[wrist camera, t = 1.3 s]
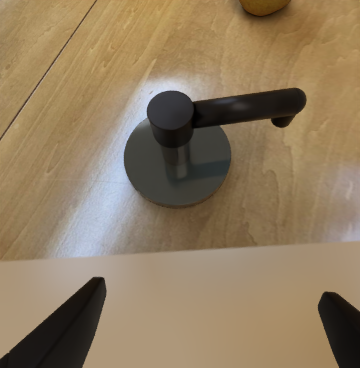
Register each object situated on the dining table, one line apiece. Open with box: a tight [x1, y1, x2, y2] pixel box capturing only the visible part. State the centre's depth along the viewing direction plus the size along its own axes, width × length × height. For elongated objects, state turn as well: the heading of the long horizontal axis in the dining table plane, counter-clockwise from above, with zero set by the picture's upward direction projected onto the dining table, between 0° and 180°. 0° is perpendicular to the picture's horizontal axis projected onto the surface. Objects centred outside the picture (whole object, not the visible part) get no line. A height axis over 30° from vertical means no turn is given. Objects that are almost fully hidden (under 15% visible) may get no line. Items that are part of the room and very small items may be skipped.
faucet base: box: [124, 118, 231, 208], centre depth 23 cm, size 12×12×6 cm
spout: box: [147, 88, 307, 148], centre depth 19 cm, size 13×4×4 cm, turn 97°
